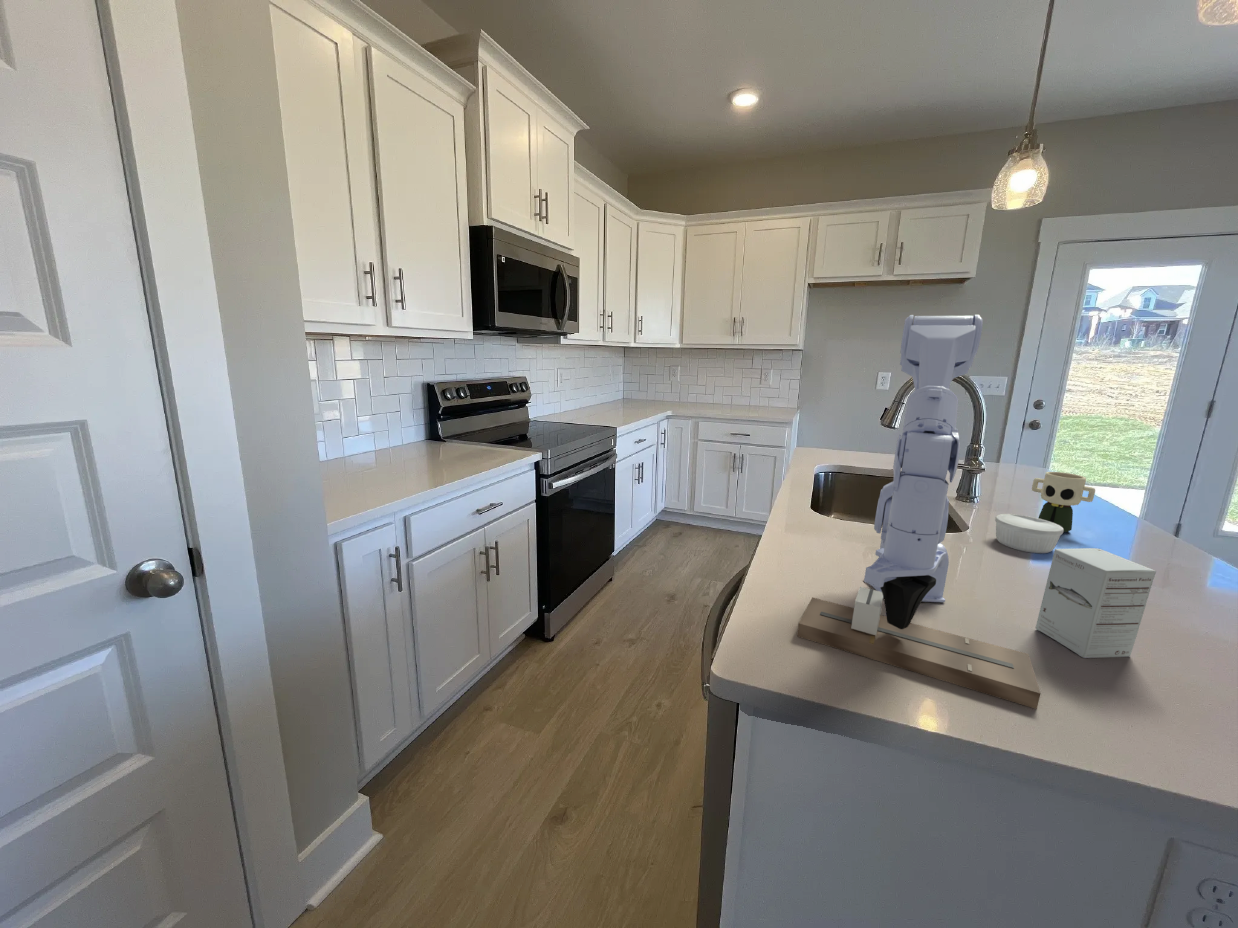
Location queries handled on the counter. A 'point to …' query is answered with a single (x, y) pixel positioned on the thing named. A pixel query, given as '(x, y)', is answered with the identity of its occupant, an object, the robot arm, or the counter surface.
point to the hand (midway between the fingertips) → (897, 624)
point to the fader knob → (867, 610)
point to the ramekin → (1027, 533)
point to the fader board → (926, 652)
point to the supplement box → (1094, 602)
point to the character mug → (1061, 496)
